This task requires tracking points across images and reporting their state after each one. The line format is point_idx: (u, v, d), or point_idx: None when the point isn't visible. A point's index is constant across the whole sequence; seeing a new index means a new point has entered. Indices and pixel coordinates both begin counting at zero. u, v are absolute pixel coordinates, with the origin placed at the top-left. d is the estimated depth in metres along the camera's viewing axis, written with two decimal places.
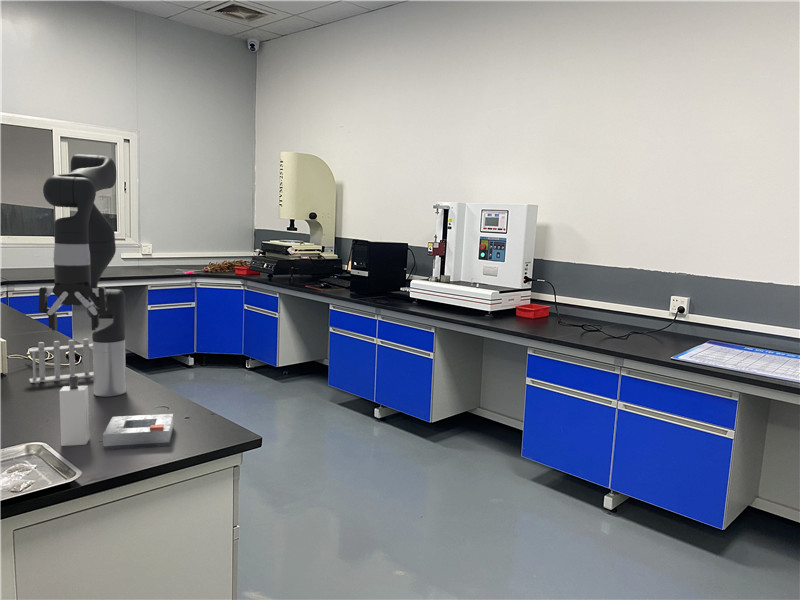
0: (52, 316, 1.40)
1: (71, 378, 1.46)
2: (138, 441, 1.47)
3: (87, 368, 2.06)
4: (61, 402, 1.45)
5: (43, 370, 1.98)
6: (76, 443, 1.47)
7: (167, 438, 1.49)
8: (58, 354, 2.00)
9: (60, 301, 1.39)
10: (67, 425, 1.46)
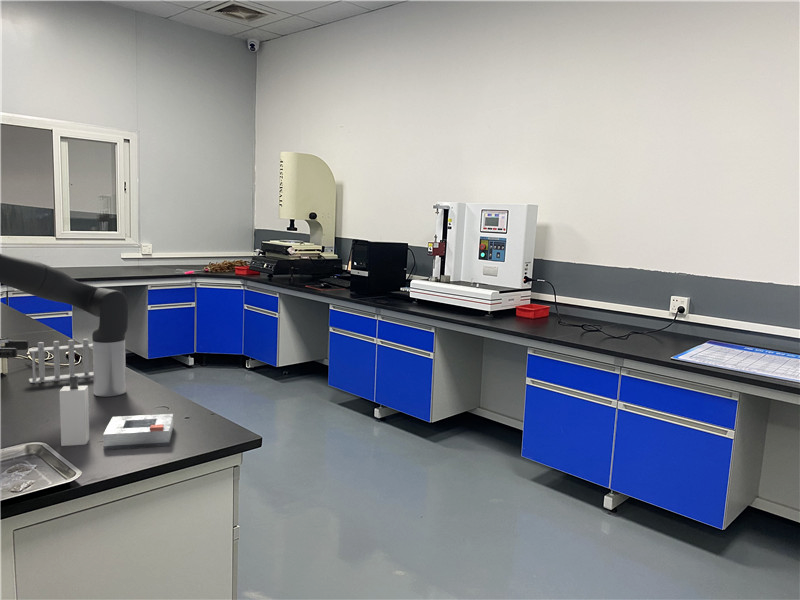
0: None
1: (71, 378, 1.46)
2: (138, 441, 1.47)
3: (87, 368, 2.06)
4: (61, 402, 1.45)
5: (43, 370, 1.98)
6: (76, 443, 1.47)
7: (167, 438, 1.49)
8: (58, 354, 2.00)
9: None
10: (67, 425, 1.46)
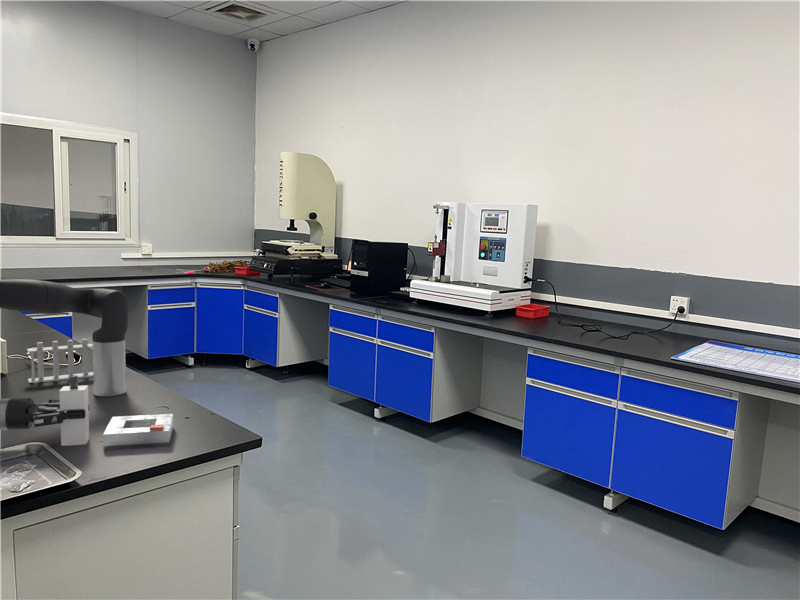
0: None
1: (71, 378, 1.46)
2: (138, 441, 1.47)
3: (86, 368, 2.05)
4: (61, 402, 1.45)
5: (42, 370, 1.97)
6: (76, 443, 1.47)
7: (167, 438, 1.49)
8: (57, 354, 1.99)
9: None
10: (67, 425, 1.46)
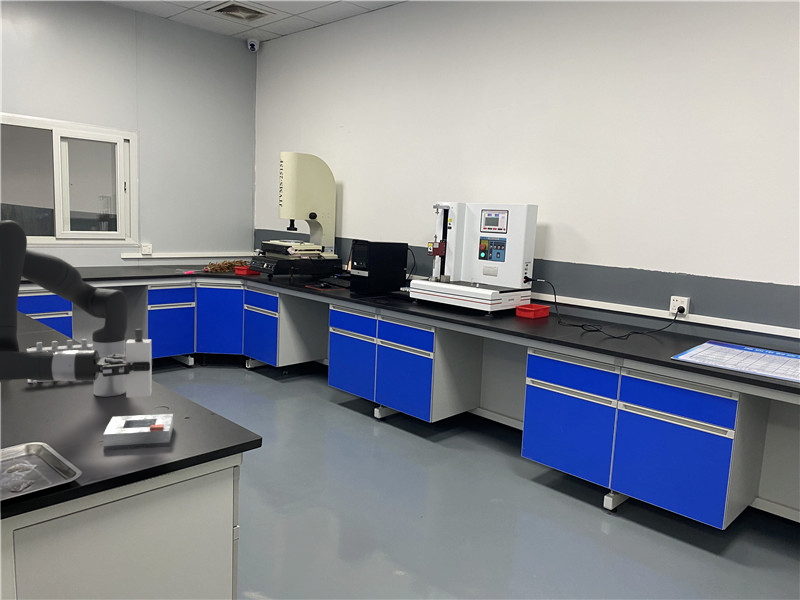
0: None
1: (136, 331, 1.49)
2: (138, 441, 1.47)
3: None
4: (127, 354, 1.48)
5: None
6: (140, 395, 1.50)
7: (167, 438, 1.49)
8: None
9: None
10: (132, 377, 1.49)
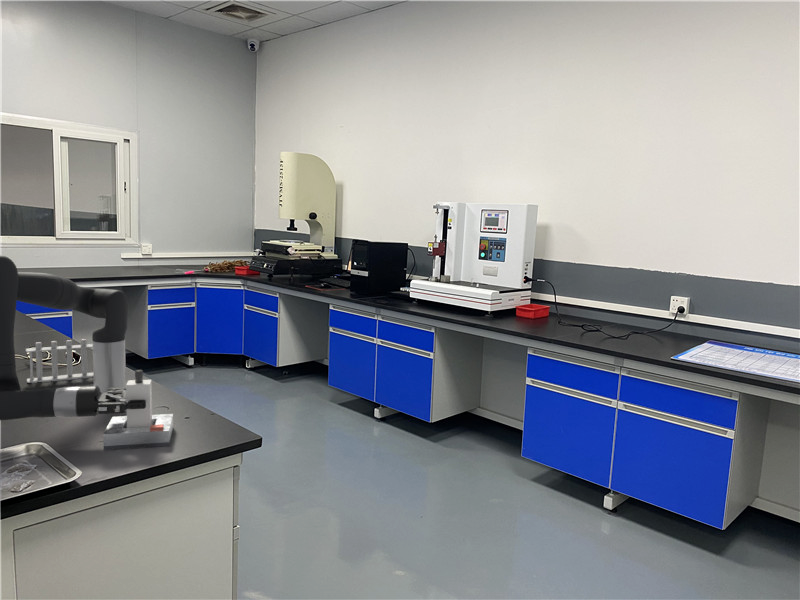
0: None
1: (137, 372, 1.50)
2: (138, 441, 1.47)
3: (85, 369, 2.05)
4: (127, 396, 1.49)
5: (40, 370, 1.97)
6: None
7: (167, 438, 1.49)
8: (55, 354, 1.99)
9: None
10: (133, 418, 1.50)
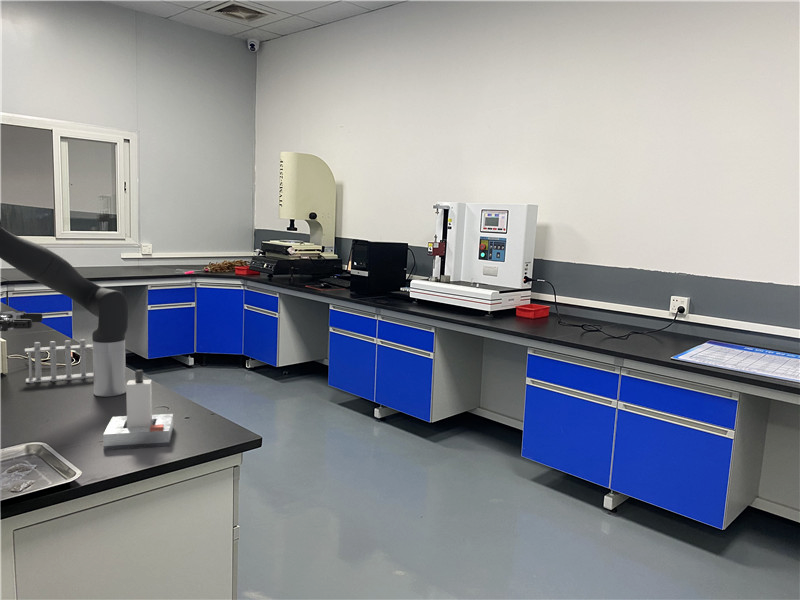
0: None
1: (137, 372, 1.50)
2: (138, 441, 1.47)
3: (83, 369, 2.04)
4: (128, 395, 1.49)
5: (39, 370, 1.97)
6: None
7: (167, 438, 1.49)
8: (54, 354, 1.99)
9: None
10: (133, 418, 1.50)
